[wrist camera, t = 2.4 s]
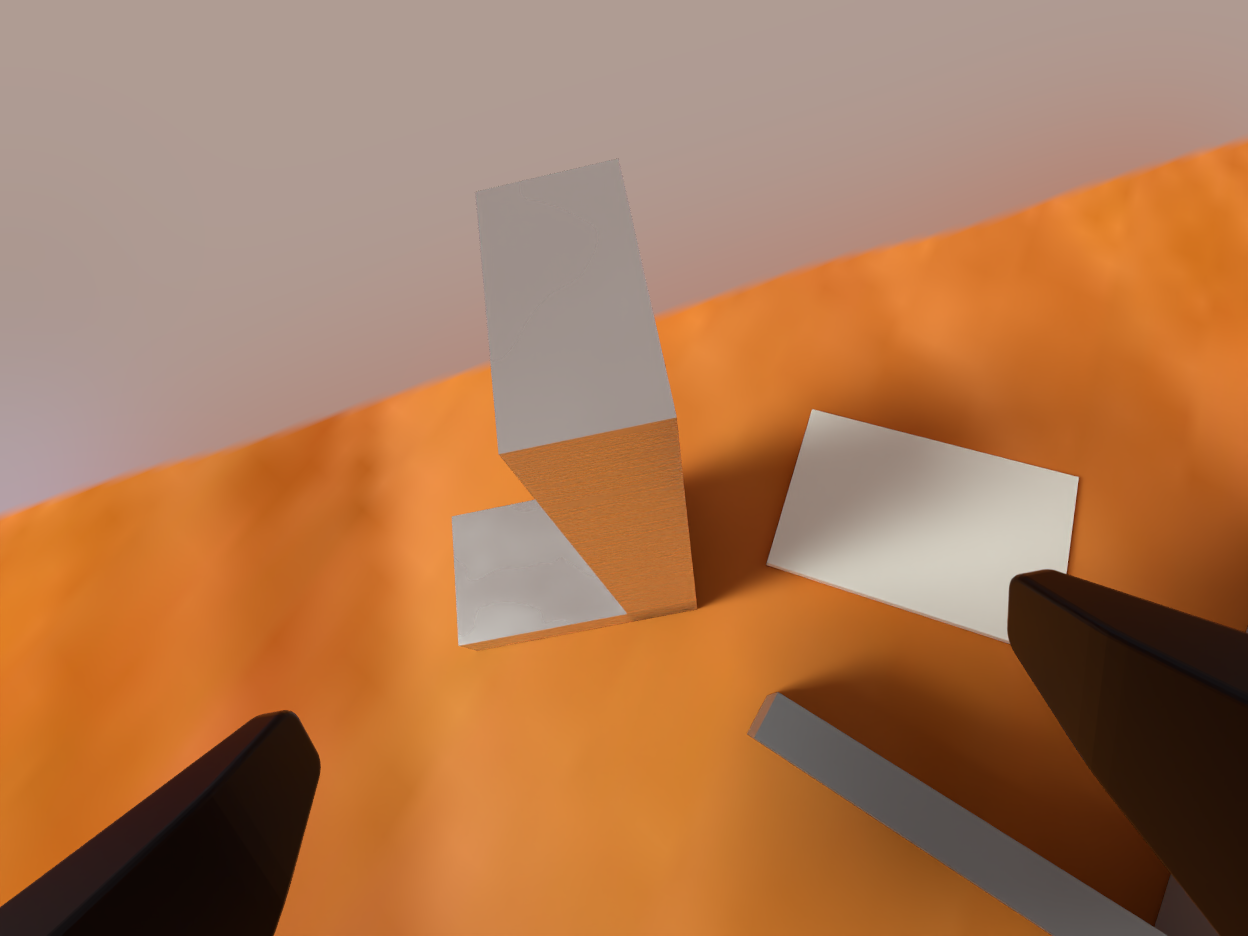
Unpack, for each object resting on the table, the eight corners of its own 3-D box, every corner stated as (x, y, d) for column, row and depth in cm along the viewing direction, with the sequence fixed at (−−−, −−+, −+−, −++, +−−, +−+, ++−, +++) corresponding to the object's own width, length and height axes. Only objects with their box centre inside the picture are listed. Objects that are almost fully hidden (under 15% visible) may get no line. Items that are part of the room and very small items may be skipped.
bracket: (672, 489, 20) (618, 158, 8) (697, 608, 18) (676, 417, 7) (469, 529, 20) (133, 271, 9) (476, 650, 19) (78, 540, 7)
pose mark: (1073, 480, 18) (1079, 477, 18) (1050, 657, 17) (1055, 655, 16) (810, 413, 20) (812, 409, 20) (766, 564, 19) (767, 562, 18)
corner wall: (1330, 541, 17) (1450, 508, 14) (1193, 1028, 14) (1316, 1108, 11) (934, 377, 20) (969, 324, 18) (746, 734, 17) (754, 737, 14)
